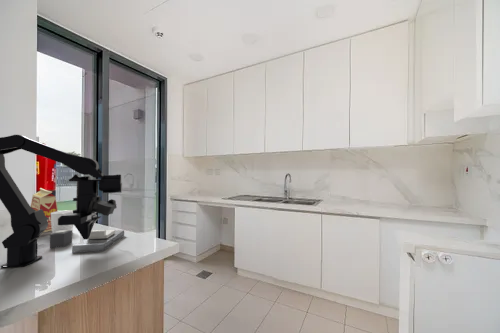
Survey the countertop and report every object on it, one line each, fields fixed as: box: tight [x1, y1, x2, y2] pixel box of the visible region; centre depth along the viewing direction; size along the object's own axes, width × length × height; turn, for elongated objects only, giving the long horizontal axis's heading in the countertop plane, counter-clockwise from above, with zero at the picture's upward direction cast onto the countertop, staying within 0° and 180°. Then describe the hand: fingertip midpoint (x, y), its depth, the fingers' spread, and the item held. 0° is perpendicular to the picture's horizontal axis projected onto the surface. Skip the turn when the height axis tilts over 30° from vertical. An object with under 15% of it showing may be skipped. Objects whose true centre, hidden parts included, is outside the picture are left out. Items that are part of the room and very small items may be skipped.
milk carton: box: [30, 187, 59, 233], centre depth 98 cm, size 9×9×20 cm
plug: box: [49, 230, 73, 249], centre depth 79 cm, size 4×4×5 cm
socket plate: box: [71, 229, 125, 254], centre depth 81 cm, size 17×10×2 cm, turn 10°
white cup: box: [51, 209, 74, 234], centre depth 92 cm, size 8×8×10 cm
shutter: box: [88, 229, 116, 239], centre depth 81 cm, size 8×7×3 cm
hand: (86, 239), depth 72 cm, fingers closed
